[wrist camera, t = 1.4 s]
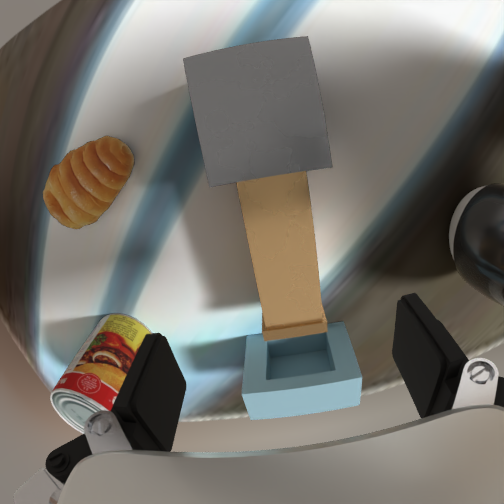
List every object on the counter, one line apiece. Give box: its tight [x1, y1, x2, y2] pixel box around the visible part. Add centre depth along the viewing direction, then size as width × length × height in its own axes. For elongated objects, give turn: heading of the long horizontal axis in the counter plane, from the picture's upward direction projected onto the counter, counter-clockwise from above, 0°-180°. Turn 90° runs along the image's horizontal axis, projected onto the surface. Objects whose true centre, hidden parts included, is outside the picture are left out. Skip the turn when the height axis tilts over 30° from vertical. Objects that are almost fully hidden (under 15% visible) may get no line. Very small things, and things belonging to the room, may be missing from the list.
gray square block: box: [183, 36, 332, 187], centre depth 19 cm, size 7×8×7 cm
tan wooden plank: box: [236, 171, 328, 341], centre depth 21 cm, size 5×20×5 cm, turn 11°
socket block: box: [242, 321, 362, 420], centre depth 27 cm, size 10×4×8 cm, turn 101°
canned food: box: [50, 313, 152, 434], centre depth 26 cm, size 8×8×12 cm
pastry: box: [43, 136, 134, 229], centre depth 23 cm, size 9×7×4 cm
